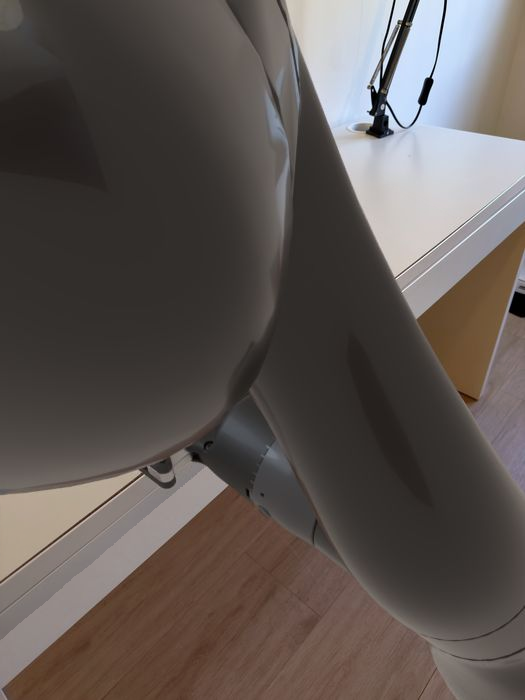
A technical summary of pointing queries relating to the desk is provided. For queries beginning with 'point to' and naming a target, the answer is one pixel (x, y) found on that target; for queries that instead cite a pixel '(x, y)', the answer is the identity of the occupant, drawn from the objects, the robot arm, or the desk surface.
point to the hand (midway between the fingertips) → (150, 367)
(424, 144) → the desk surface
